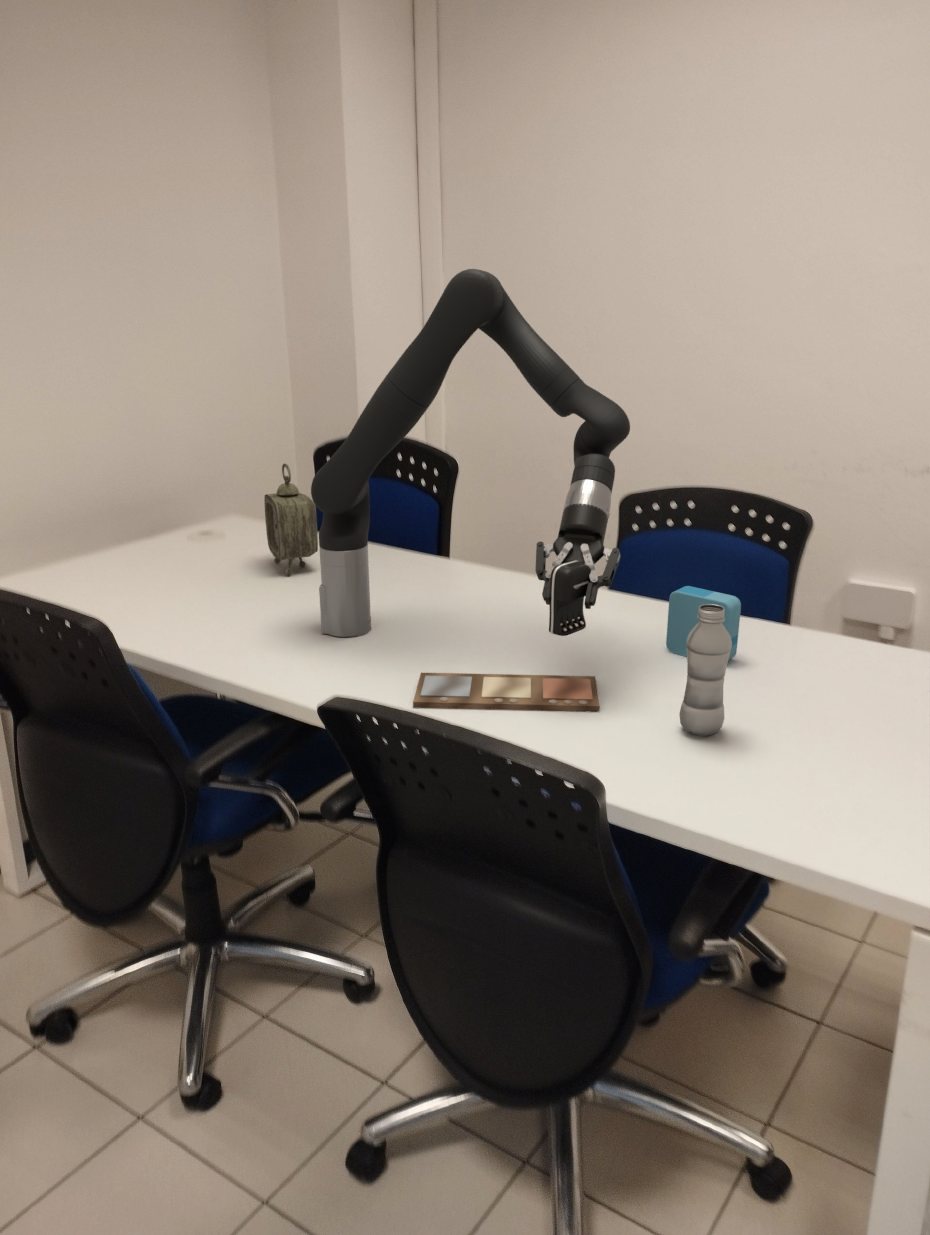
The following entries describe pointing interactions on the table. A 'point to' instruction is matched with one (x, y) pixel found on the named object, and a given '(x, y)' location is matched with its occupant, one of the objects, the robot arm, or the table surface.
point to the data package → (685, 616)
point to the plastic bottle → (706, 672)
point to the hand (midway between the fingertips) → (567, 604)
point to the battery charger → (568, 597)
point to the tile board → (507, 692)
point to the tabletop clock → (290, 523)
